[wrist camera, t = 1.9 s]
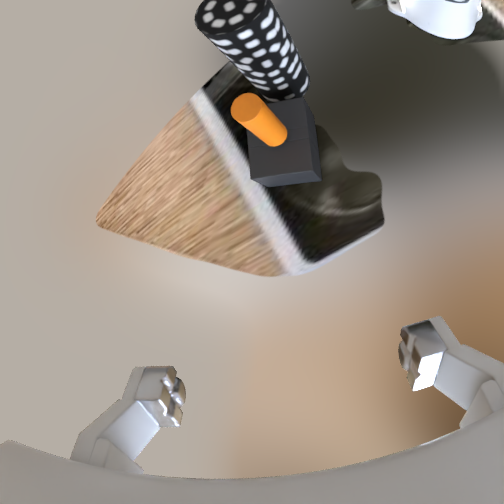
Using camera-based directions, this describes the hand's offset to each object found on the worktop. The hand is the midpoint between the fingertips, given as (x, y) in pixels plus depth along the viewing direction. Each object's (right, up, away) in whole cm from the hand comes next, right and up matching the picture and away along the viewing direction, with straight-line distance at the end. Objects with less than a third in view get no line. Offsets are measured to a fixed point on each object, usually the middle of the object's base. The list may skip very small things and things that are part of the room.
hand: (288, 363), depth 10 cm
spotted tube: (+4, +30, +32) cm, 45 cm away
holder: (+4, +18, +33) cm, 38 cm away
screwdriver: (+4, +18, +33) cm, 38 cm away
